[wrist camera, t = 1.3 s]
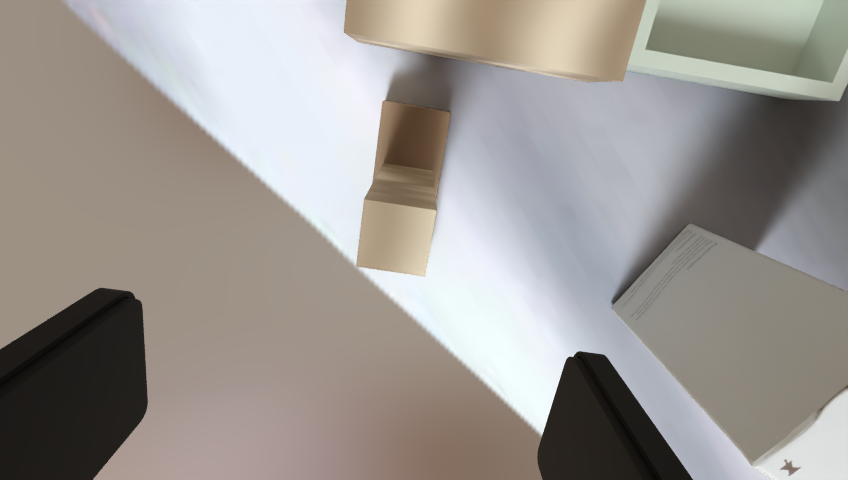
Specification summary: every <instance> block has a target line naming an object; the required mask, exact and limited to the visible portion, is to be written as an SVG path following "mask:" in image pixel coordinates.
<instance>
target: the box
mask: <svg viewBox="0 0 848 480" xmlns="http://www.w3.org/2000/svg"><path fill="white" fill-rule="evenodd" d="M626 71H630V72H636V73H642V74H647V75H653V76H659V77H664V78H670V79H676V80H681V81H687V82H693V83H698V84H704V85H710V86H715V87H721V88H727V89H732V90H738V91H744V92H749V93H755V94H761V95H766V96H772V97H778V98H783V99H791V100H820V101H840V99H841V97H842V94H843V92H844V90H845V88H846V86H847V83H848V0H646V4H645V7H644V11H643V14H642V17H641V21H640V24H639V28H638V31H637V35H636V38H635V41H634V45H633V48H632V52H631V55H630V58H629V62H628V65H627V69H626Z"/></svg>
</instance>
